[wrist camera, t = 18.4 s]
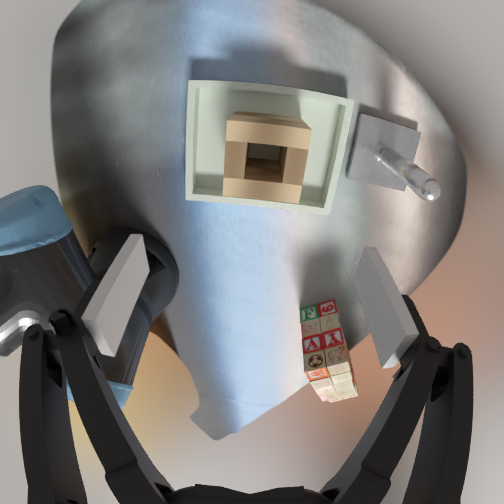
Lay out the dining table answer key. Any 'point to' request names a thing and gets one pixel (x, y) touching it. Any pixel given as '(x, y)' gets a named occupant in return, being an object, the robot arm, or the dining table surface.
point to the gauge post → (389, 158)
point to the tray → (268, 102)
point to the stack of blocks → (326, 352)
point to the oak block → (264, 170)
